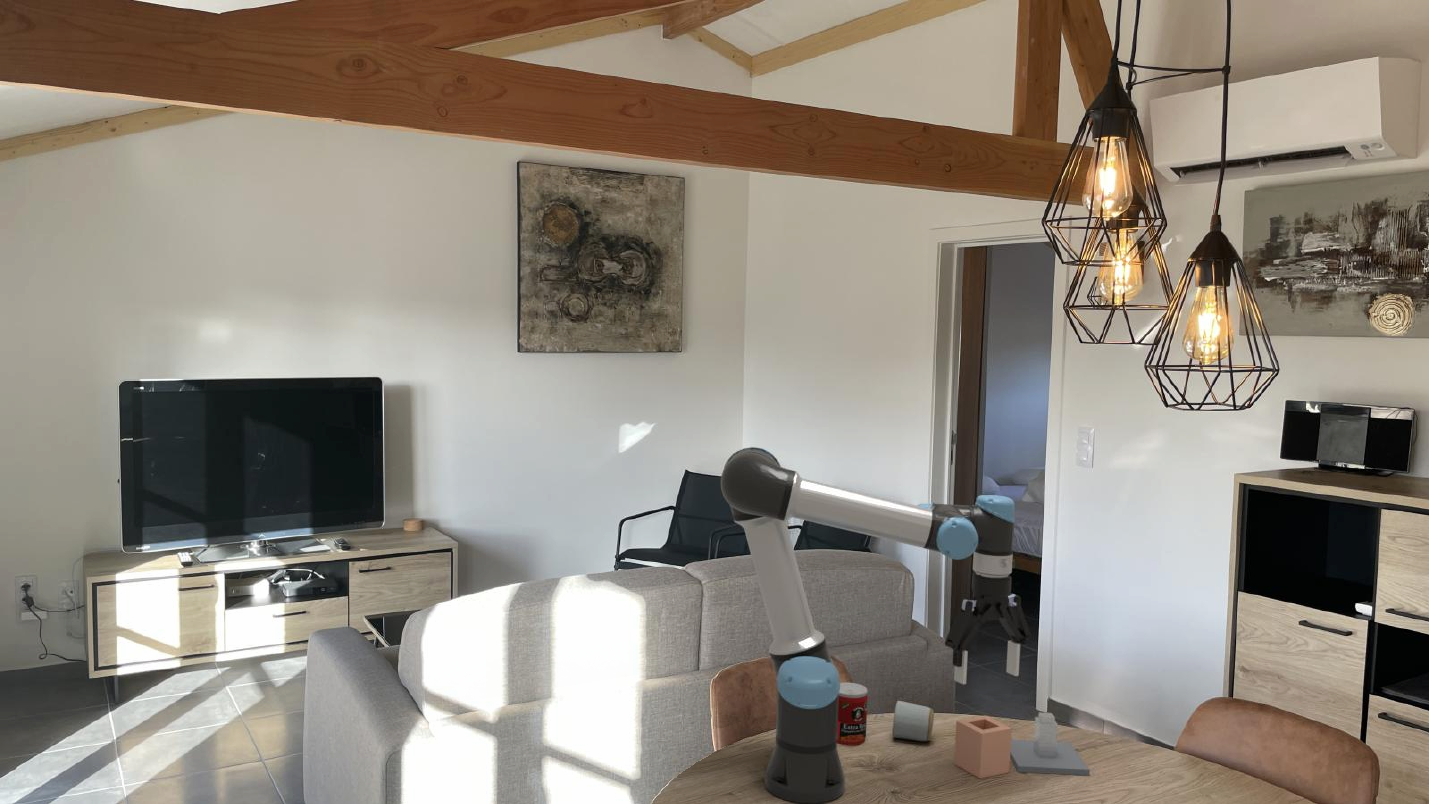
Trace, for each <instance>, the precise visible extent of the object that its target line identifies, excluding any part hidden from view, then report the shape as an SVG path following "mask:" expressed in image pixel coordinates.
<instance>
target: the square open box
mask: <svg viewBox="0 0 1429 804" xmlns="http://www.w3.org/2000/svg"><path fill="white" fill-rule="evenodd" d="M955 723H956V724H955V742H954V743H955V748H954V749H955V750H954V765H956V766H957V767H959V768H961V769H962V770H964V771H966V772H967V773H970V774H971V775H973V776H975V777H976V778H978V779H980V780H981V779H984V778H989V777H994V776H999V775H1004V774H1007V773H1010V767H1011V758H1010V751H1011V739H1012V727H1010V726H1008V725H1006V724H1003V723H1002V722H999V720H998V721H997V720H996V719H994V718H992V717H990V716H988V715H979V716H974V717H968V718H963V719H957V720H956V721H955Z"/></svg>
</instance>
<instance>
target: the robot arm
mask: <svg viewBox="0 0 1429 804" xmlns="http://www.w3.org/2000/svg"><path fill="white" fill-rule="evenodd" d="M720 489H721V490H720V491H721V494H722V495H723V497H724V499H725V501H726V502H727V503H728V504H729V507H730V510H731V514H732V518H733V521H734V523H736V524H737V525H740V526H741V527H742V528H743V529H744V533H745V536H746V537H745V538H746V541H747V545H748V548H749V552H750V555H751V556H750V557H751V560H752V563H753V564H752V565H753V567H754V571H755V575H756V578H757V581H758V586H759V590H760V593H761V596H762V600H763V604H764V608H765V612H766V616H767V619H768V623H769V626H770V631H771V634H772V638H773V641H772V642H771V644H770V646H769V647H768V650H769V655H770V659H771V663H772V667H773V670H774V674H775V678H776V689H777V691H776V692H777V694H776V695H777V696H776V697H777V698H776V722H775V745H774V748H773V751H772V753H771V756H770V759H769V762H768V764H767V768H766V770H765V774H764V775H765V778H764V779H765V780H764V784H765V788H766V789H767V791H768V792H769V793H771V794H772V795H773V796H775V797H777V798H780V799H783V800H786V801H789V802H794V803H800V804H801V803H802V804H820V803H821V804H822V803H827V802H832V801H835V800H836V799H838V798H840V797H841V796H842V795H843V794H844V792H845V785H846V783H845V782H846V778H845V777H846V776H845V773H844V770H843V766H842V762H841V759H840V756H839V752H838V743H837V728H838V701H839V691H840V683H841V681H840V675H839V674H840V672H839V671H838V669H837V667H836V666H835V665H834V661H833V659H832V658H831V655H830V651H829V648H828V645H827V641H826V637H825V635H824V634H823V633H822V632H820V631H819V630H817V629H816V628H815V624H814V621H813V618H812V614H811V611H810V607H809V603H808V599H807V595H806V591H805V589H804V585H803V579H802V577H801V573H800V568H799V566H798V562H797V557H796V554H795V551H794V547H793V543H792V539H791V536H790V531H789V528H788V524H787V521H788V520H790V519H792V518H794V519H798V520H803V521H807V522H812V523H815V524H820V525H823V526H829V527H831V528H832V527H833V528H836V529H841V530H844V531H845V530H846V531H849V532H854V533H857V534H863V535H866V536H871V537H875V538H880V539H884V540H888V541H893V542H896V543H901V544H906V545H910V546H913V547H918V548H921V549H924V550H929V551H933V552H937V553H941V554H942V555H943V556H945V557H946V558H949V559H952V560H957V561H958V560H960V561H961V560H965V559H967V558H968V557H970V556H971V555H973V558H972V570H973V571H974V572H973V573H972V575H971V576H972V578H971V579H972V581H971V590H972V592H973V598H972V600H971V599H969V600H968V599H966V598H963V597H962V598H960V599H959V606H958V611H957V613H956V616H955V618H954V620H953V623H952V625H951V627H950V630H949V632H948V634H947V636H946V639H945V641H944V646H945V647H948V648H950V649H952V665H953V666H954V671H953V672H954V675H953V681H955V682H957V683H959V684H961V685H967V674H968V653H969V651H967V650H966V648H967V646H968V645H969V643H970V642H971V640H972V639H973V637H974V636H975V634H976V633H977V631H978V630H979V629H980V627H981V626H982V625H984V624H985V623H986V622H990V621H993V620H994V621H999V622H1000V624H1001V625H1002V627H1003V628H1004V630H1005V631H1006V633H1007V634H1008V635H1009V637H1010V639H1011V640H1008V641H1007V652H1006V655H1007V656H1006V673H1008V674H1009V675H1012V676H1014V677H1019V673H1020V672H1019V671H1020V659H1022V653H1023V651H1022V650H1023V645H1026V644H1027V642H1028V641H1027V640H1030V639H1032V638H1031V637H1032V634H1031V632H1030V628H1029V626H1028V622H1027V620H1026V617H1025V614H1024V611H1023V608H1022V597H1021V596H1020V595H1016V594H1014V593H1012V579H1013V578H1012V576H1011V575H1010V574H1012V572H1013V571H1012V570H1013V557H1014V556H1013V555H1014V554H1013V552H1014V551H1013V550H1014V535H1015V525H1016V517H1015V515H1016V513H1015V512H1016V511H1015V510H1016V509H1015V508H1016V506H1015V501H1014V500H1013V499H1012V498H1010V497H1008V496H1004V495H999V494H998V495H997V494H988V495H987V494H981V495H980V494H979V496H977V497H976V501H975V504H971V505H970V504H969V505H964V504H963V505H961V504H949V503H947V504H945V503H935V502H931V503H919V504H917V505H915V504H912V503H906V502H904V501H903V502H902V501H900V500H895V499H891V498H886V497H881V496H877V495H874V494H868V493H865V492H861V491H856V490H853V489H848V488H845V487H840V486H836V485H833V484H829V483H828V484H827V483H824V482H819V481H815V480H810V479H807V478H804V477H803V478H802V477H801V476H800V474H799V472H798V471H797V470H792V469H788V468H785V467H782V466H781V464H780V462H779V461H778V459H777V457H775V455H774V454H773V453H771V452H770V451H769V450H766V449H764V448H761V447H756V446H755V447H754V446H753V447H752V446H751V447H750V446H749V447H745V448H742V449H739V450H736V452H734V453H732V454H731V455H730V456H729V458H727V460H726V462H725V465H724V467H723V470H722V473H721V477H720ZM1007 608H1008V610H1009V612H1010V613H1009V612H1008V610H1007Z"/></svg>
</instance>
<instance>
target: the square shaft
mask: <svg viewBox="0 0 1429 804" xmlns="http://www.w3.org/2000/svg"><path fill="white" fill-rule="evenodd" d="M1058 728H1059V726H1058V722H1057V721H1056V717H1055V716H1054V714H1053V713H1052V712H1039V711H1038V716H1035V717H1034V735H1033V736H1034V738H1033V741H1034V751H1035V753H1036V754H1037V756H1038V757H1050V758H1056V749H1057V742H1058V730H1059V729H1058Z"/></svg>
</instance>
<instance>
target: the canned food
mask: <svg viewBox="0 0 1429 804" xmlns="http://www.w3.org/2000/svg"><path fill="white" fill-rule="evenodd" d="M868 695H869V693H868V687H866V686H865V685H862V684H859V683H856V682H848V681H847V682H840V691H839V701H838V728H837V744H840V745H844V744H845V746H857V745H861V744H863V743H864V742H865V740H866V738H867V721H868V720H867V719H868V700H869V699H868Z"/></svg>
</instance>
